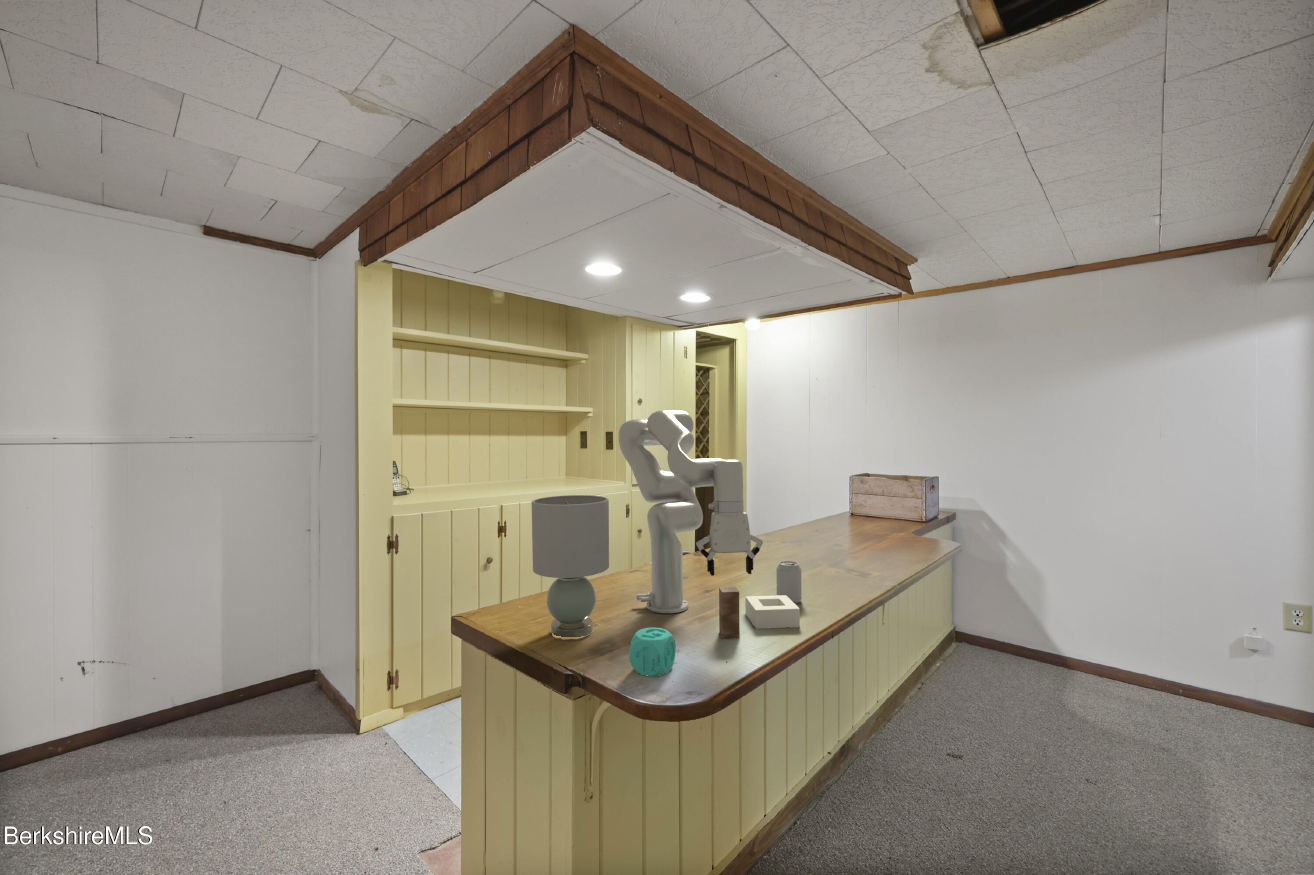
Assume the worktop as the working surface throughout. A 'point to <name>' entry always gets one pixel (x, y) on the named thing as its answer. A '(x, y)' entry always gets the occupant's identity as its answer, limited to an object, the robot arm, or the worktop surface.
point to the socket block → (772, 611)
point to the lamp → (570, 556)
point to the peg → (729, 612)
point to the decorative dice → (652, 651)
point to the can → (789, 580)
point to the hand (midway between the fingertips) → (730, 573)
